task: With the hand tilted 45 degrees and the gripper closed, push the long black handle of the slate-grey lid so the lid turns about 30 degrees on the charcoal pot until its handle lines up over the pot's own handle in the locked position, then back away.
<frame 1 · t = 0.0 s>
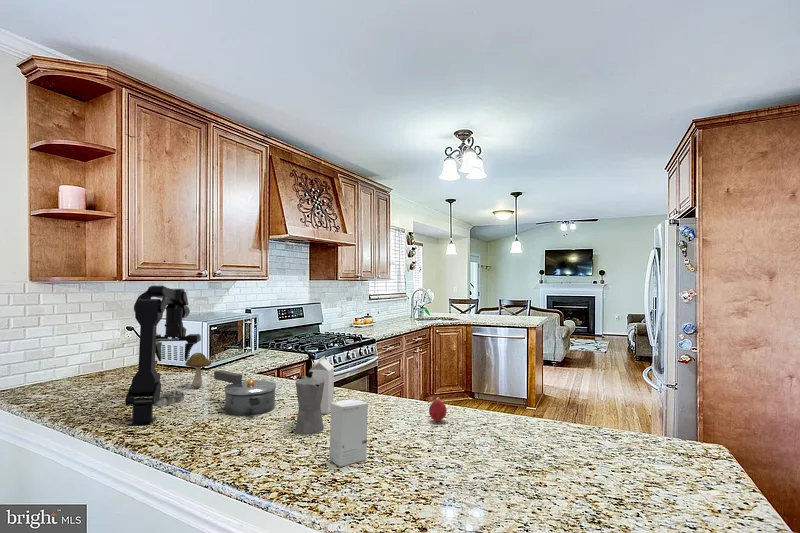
hand: (172, 360, 169), 15 cm above the table, tool pointing down, fingers open, 9 cm apart
cooking pot: (250, 408, 157), on the table
egg carton: (167, 403, 164), on the table
coffeepot: (308, 429, 136), on the table
pot lid: (240, 380, 161), point 9 cm above the table, hinge at 30.0°
skincare box: (348, 460, 113), on the table
mushroom: (197, 388, 186), on the table
onion: (437, 422, 144), on the table
milk carton: (321, 411, 155), on the table
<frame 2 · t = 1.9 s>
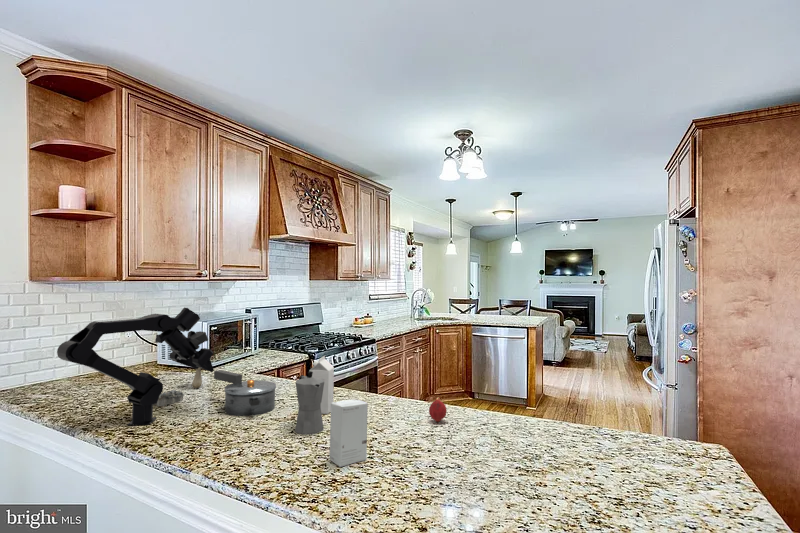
hand: (205, 369, 160), 13 cm above the table, tool tilted 45°, fingers open, 9 cm apart
nothing on the table moved.
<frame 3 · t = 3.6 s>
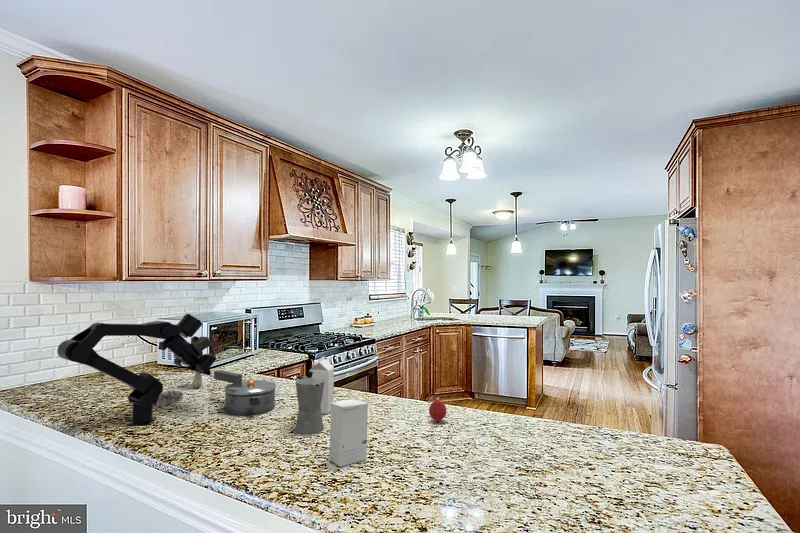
hand: (209, 374, 160), 12 cm above the table, tool tilted 45°, fingers closed
nothing on the table moved.
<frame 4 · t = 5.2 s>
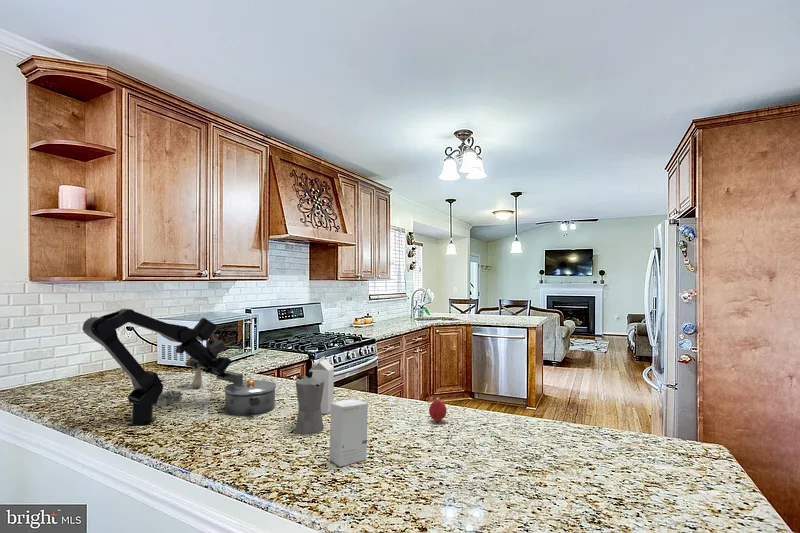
hand: (224, 376, 165), 10 cm above the table, tool tilted 45°, fingers closed, pressing on pot lid
pot lid: (241, 380, 161), point 9 cm above the table, hinge at 27.2°, touching gripper
everything else where it was.
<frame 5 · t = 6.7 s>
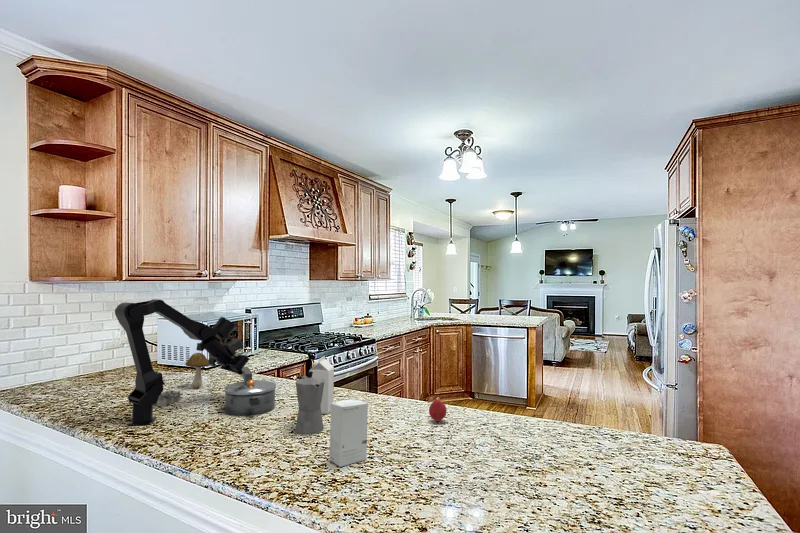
hand: (241, 373, 171), 10 cm above the table, tool tilted 45°, fingers closed
pot lid: (248, 379, 163), point 9 cm above the table, hinge at 0.1°
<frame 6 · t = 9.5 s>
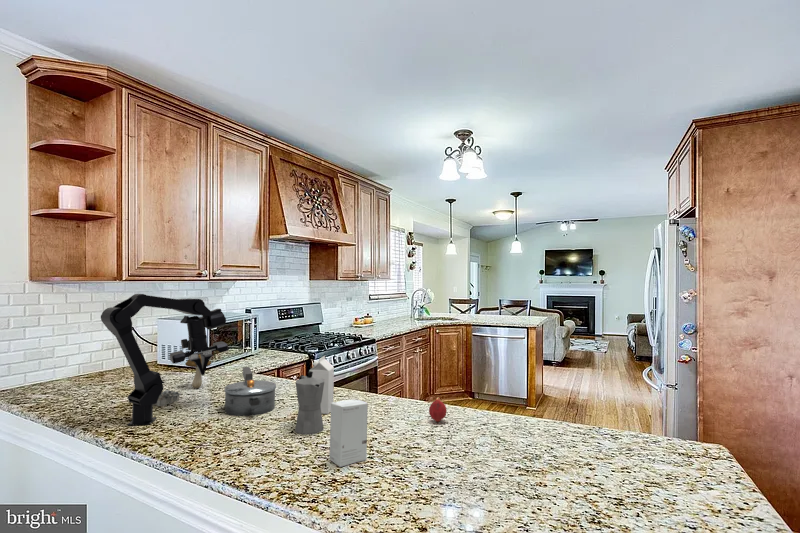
hand: (202, 374, 158), 12 cm above the table, tool pointing down, fingers closed
pot lid: (249, 379, 163), point 9 cm above the table, hinge at -1.2°
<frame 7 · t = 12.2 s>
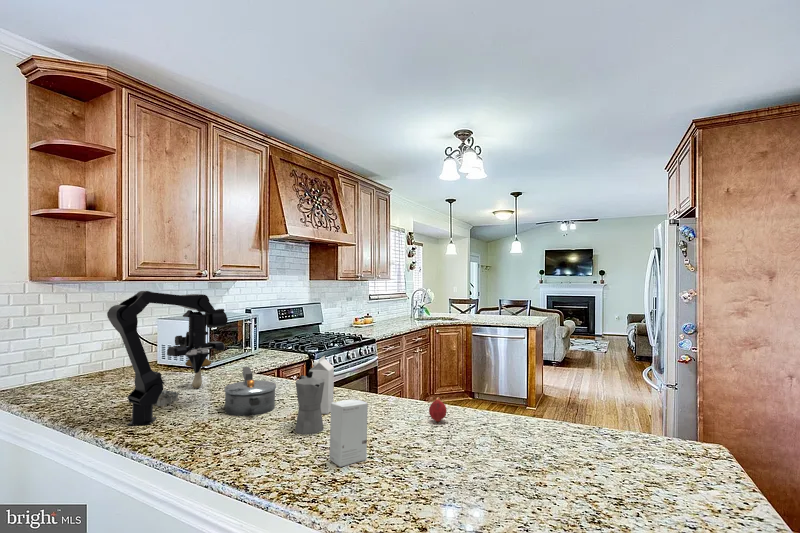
hand: (196, 372, 156), 13 cm above the table, tool pointing down, fingers closed
at the end: pot lid at -1° (first picture: +30°); the gripper is holding nothing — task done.
